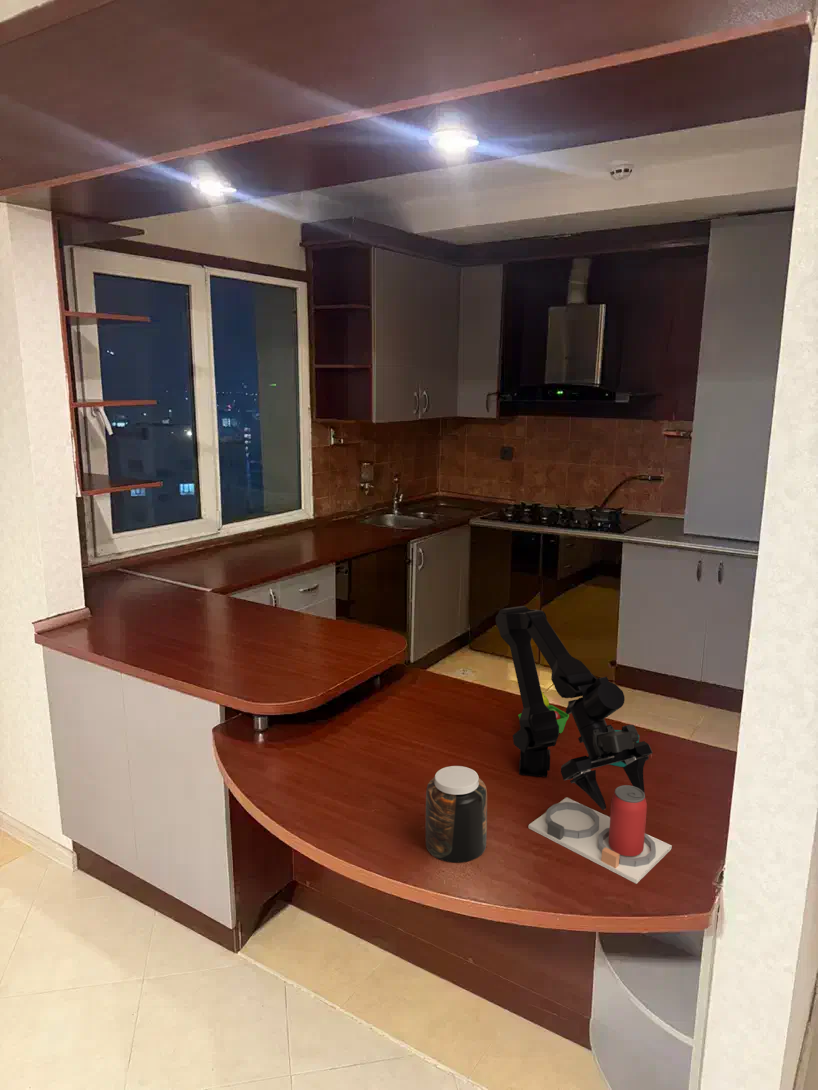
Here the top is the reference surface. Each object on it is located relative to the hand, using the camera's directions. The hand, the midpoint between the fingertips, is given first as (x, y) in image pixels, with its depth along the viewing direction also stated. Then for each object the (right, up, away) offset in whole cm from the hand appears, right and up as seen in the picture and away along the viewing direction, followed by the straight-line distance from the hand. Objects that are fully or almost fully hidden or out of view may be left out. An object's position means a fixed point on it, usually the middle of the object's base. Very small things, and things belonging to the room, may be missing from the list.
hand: (624, 803), depth 144 cm
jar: (-32, -10, +3) cm, 34 cm away
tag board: (-4, -9, +5) cm, 11 cm away
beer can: (+1, -9, +1) cm, 9 cm away
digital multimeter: (+11, -1, +38) cm, 40 cm away
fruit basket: (-7, +1, +49) cm, 49 cm away
